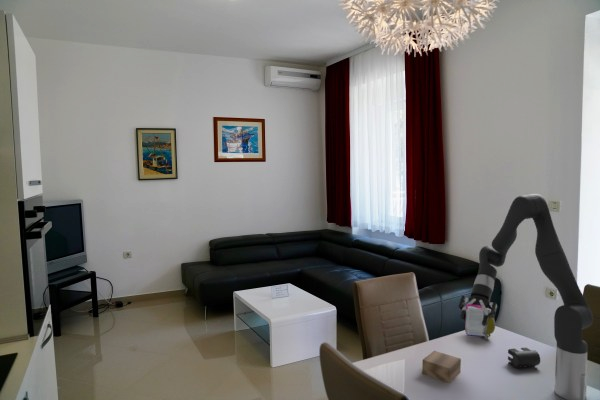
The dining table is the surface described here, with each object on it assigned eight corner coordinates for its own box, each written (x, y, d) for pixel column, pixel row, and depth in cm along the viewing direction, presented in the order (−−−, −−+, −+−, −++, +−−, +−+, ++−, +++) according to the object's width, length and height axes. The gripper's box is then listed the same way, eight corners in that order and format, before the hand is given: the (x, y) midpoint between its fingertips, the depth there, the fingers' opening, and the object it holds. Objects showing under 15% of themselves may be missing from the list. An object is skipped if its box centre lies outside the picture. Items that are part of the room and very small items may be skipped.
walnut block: (460, 373, 163) (460, 358, 163) (449, 383, 155) (449, 368, 155) (434, 364, 171) (434, 350, 170) (422, 374, 163) (422, 359, 162)
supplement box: (483, 337, 162) (483, 309, 162) (467, 336, 164) (467, 308, 163) (479, 331, 168) (480, 304, 167) (464, 330, 169) (465, 303, 168)
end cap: (518, 371, 164) (518, 355, 164) (506, 363, 171) (507, 347, 171) (540, 369, 166) (541, 353, 166) (527, 361, 173) (528, 345, 173)
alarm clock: (470, 332, 204) (471, 302, 203) (483, 331, 205) (483, 302, 204) (485, 341, 193) (486, 310, 192) (498, 340, 194) (499, 309, 193)
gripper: (463, 280, 175) (452, 313, 167) (499, 286, 165) (489, 322, 157) (467, 289, 179) (457, 323, 171) (502, 296, 170) (493, 331, 162)
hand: (472, 322), depth 164 cm, fingers closed on supplement box, 7 cm apart
